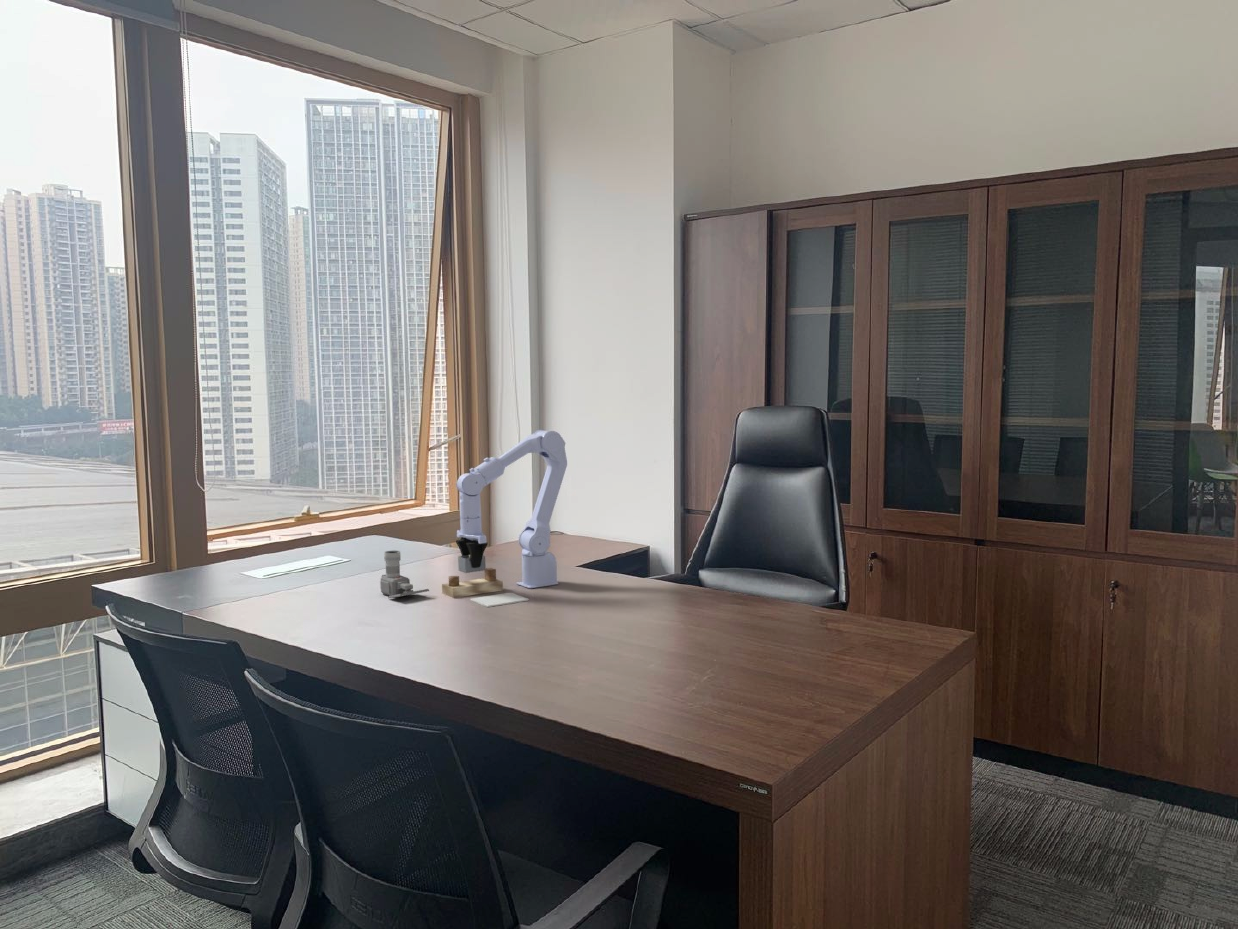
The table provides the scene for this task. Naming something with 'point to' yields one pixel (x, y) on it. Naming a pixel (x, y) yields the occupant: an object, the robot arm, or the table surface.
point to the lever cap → (469, 564)
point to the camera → (395, 578)
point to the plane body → (473, 585)
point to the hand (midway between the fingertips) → (472, 566)
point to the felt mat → (499, 599)
